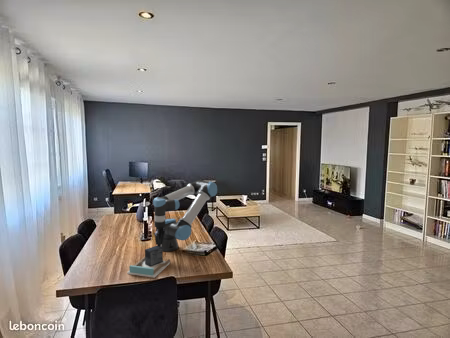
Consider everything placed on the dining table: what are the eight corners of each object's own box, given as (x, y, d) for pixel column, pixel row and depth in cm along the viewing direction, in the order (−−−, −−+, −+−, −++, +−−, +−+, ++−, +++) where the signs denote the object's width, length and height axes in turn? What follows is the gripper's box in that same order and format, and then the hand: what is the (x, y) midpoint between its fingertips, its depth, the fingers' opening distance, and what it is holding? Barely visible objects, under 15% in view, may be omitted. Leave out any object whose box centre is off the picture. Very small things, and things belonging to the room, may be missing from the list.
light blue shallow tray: (145, 260, 199) (145, 253, 198) (170, 263, 194) (170, 255, 194) (127, 273, 177) (127, 265, 177) (154, 277, 173) (154, 269, 172)
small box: (157, 259, 197) (157, 244, 196) (163, 261, 193) (163, 247, 192) (144, 264, 189) (144, 249, 188) (150, 266, 185) (150, 251, 184)
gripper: (159, 218, 205) (158, 249, 207) (150, 222, 193) (150, 256, 194) (168, 219, 203) (168, 250, 205) (160, 223, 191) (160, 257, 193)
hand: (159, 253), depth 200 cm, fingers closed
